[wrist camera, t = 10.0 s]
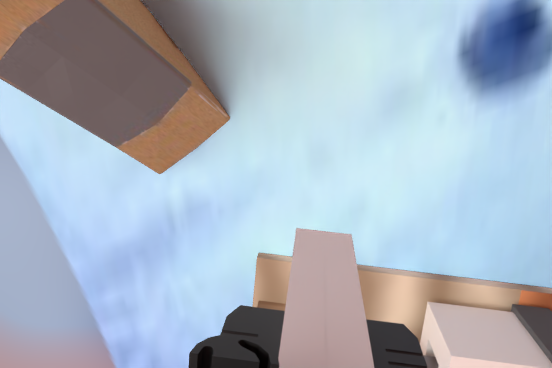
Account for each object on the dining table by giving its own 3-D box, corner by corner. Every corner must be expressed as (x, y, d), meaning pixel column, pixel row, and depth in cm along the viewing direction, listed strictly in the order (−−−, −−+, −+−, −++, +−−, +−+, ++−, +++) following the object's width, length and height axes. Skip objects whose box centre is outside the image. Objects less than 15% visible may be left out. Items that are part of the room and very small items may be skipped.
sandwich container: (159, 178, 45) (81, 236, 30) (40, 34, 43) (-104, 24, 28) (234, 118, 43) (190, 150, 28) (114, -35, 41) (1, -85, 26)
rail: (248, 361, 48) (235, 417, 41) (258, 252, 45) (246, 291, 38) (574, 404, 46) (624, 472, 39) (605, 294, 44) (665, 344, 36)
